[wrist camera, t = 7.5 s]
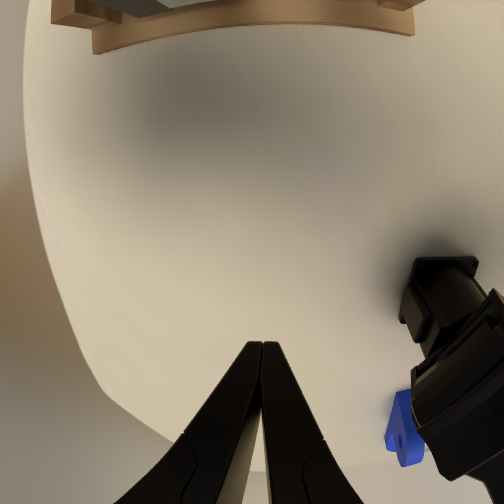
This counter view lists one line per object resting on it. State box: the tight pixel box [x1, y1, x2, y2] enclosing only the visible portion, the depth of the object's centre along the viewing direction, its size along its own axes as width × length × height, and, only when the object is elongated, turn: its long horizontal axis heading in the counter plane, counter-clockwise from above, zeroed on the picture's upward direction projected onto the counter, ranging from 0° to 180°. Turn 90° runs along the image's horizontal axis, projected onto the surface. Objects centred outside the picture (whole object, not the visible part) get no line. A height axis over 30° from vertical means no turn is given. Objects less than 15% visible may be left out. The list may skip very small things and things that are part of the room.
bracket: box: [385, 389, 425, 467], centre depth 30 cm, size 18×8×9 cm, turn 14°
